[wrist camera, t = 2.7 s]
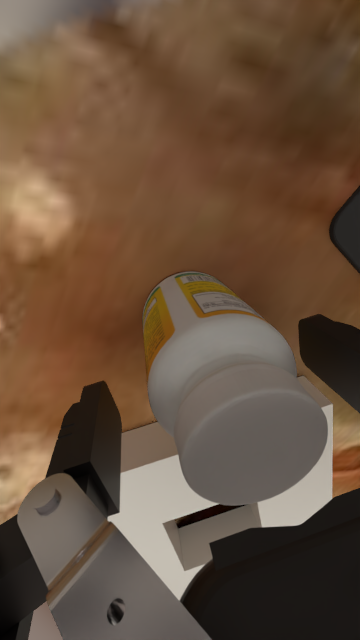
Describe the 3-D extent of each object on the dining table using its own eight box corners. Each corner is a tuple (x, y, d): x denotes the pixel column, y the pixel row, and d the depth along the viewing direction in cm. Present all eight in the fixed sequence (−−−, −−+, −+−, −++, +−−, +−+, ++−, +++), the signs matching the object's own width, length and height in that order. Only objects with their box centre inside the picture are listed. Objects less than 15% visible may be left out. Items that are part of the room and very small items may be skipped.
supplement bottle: (208, 251, 14) (331, 320, 6) (244, 328, 16) (372, 462, 8) (121, 301, 14) (109, 442, 6) (169, 370, 17) (212, 546, 8)
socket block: (303, 375, 19) (332, 403, 16) (310, 519, 26) (331, 555, 24) (52, 454, 18) (38, 499, 15) (134, 581, 25) (135, 626, 22)
